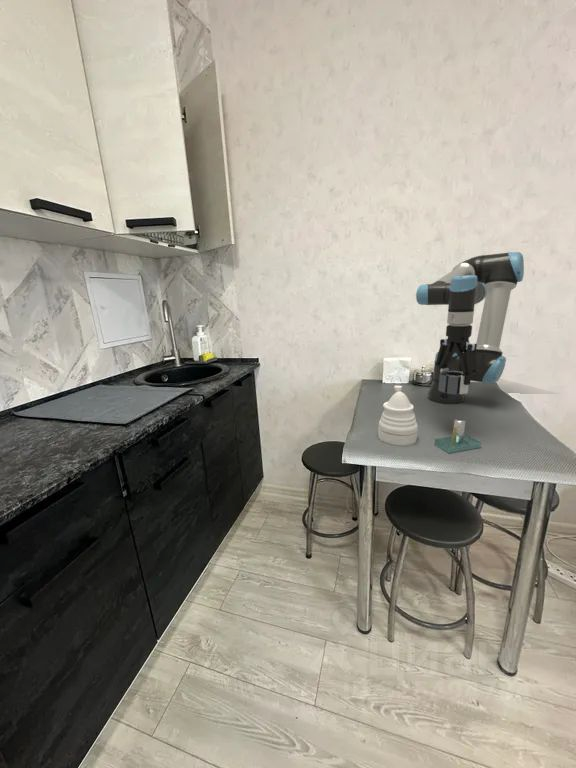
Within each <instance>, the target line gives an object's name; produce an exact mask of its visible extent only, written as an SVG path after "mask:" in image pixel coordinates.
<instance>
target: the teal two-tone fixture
mask: <svg viewBox="0 0 576 768" xmlns="http://www.w3.org/2000/svg"><path fill="white" fill-rule="evenodd" d="M452 427H453V429H452V436H446V437H445V436H444V437H439V438H434V445H435V446H436V447H438V448H439V449H441V450H442V451H444V452H446V453H447V454H452V453H458V452H463V451H470V450H474V449H480V448H481V446H482V441H480V440H478V439H477V438H474V437H473V436H470V435H468V434H466V433H465V427H466V420H465V419H463V418H455V419H454V421H453V426H452Z"/></svg>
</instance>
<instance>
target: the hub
mask: <svg viewBox="0 0 576 768" xmlns="http://www.w3.org/2000/svg"><path fill="white" fill-rule="evenodd" d="M462 374H463V372H460V371H442V372H440V375H439V386H438V390H439V391H441V392H443V393H447V394H456V395H457V394H459V392H460V383H461V375H462Z"/></svg>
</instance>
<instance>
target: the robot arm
mask: <svg viewBox="0 0 576 768" xmlns="http://www.w3.org/2000/svg"><path fill="white" fill-rule="evenodd" d="M524 265H525V261H524V255H523V254H522V253H521V252H519V251H516V252H514V251H513V252H512V251H511V252H510V251H508V252H502V253H501V252H500V253H493V254H484V255H483V254H481V255H477V256H476V255H475V256H474V257H471V258H468V259H466V260H464V261H461V262H459V263H458V264H457V265H455V266H454V267H453V268H452V270H451V271H450V272H448V273H447V274H445V275H443V276H442V277H441V278H439V279H437V280H436V281H435V282H432V283H426V284H420V285H419V286H418V287H417V289H416V294H415V299H416V302H417V304H418V305H421V306H422V305H423V306H438V305H439V306H443V305H447V306H448V307H447V308H448V310H447V317H446V318H447V319H446V320H447V321H446V323H447V325H446V328H445V331H446V332H445V336H446V338H444V339H443V338H442V339H440V340H439V341H440V343H439V349H438V351H437V352H436V353H435V357H434V358H435V359H434V367H433V378H432V383H431V386H430V389H429V391H428V393H427V399H429V400H430V401H431V402H435V403H440V404H447V405H450V404H451V405H455V404H461V403H463V402H464V399H465V396H464V395H467V394H468V393H469V386H470V385H471V382H476V383H477V382H478V383H483V384H485V383H488V384H495V383H497V382H498V381H499V380H500V378H501V376H503V375H502V374H503V372H504V369H505V366H506V362H507V358H506V357H505V356H504V355H503V353H504V352H503V351H502V350H501V348H500V347H501V341H502V336H503V331H504V327H505V326H504V325H505V321H506V317H507V311H508V307H509V302H510V298H511V297H510V296H511V293H512V291H513V290H514V289H516V288H517V284H518V283H520V282H523V279H524V274H525V266H524ZM483 300H484V301H483ZM482 301H483V302H484V303H483V307H482V313H481V317H480V321H479V322H480V323H479V327H478V333H477V337H476V343H471V342H470V339H469V338H470V337H471V336H472V330H473V326H472V325H471V324H474V314H475V305H477V304H479V303H480V302H482ZM442 371H460V372H463V374H462V375H461V383H460V392H459V394H457V395H456V394H447V393H443V392H441V391H439V390H438V386H439V375H440V372H442Z"/></svg>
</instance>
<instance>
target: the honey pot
mask: <svg viewBox="0 0 576 768" xmlns="http://www.w3.org/2000/svg"><path fill="white" fill-rule="evenodd" d="M393 389H394V391H395V393H394V394H392V396H391V397H390V399H389V400H388V401H386V402H384V403H383V405H382V407H383V408H384V410H383V411H382V414H381V417H380V419H379V421H378V428H377V429H378V431H377V435H378V436H377V437H378V438H379V439H380V441H382V442H383V443H386V444H390V445H393V446H394V445H396V446H410V445H413V444H415V443H416V442H417V441H418V440H417V439H418V429H419V428H418V427H419V426H418V423H417V420H416V414H415V412H414V408H415V407H414V405H413V404H412V403H411V402H410V400H409V398H408V396H407V395H406V393H404V392H402V389H403V386H402V385H394V387H393Z"/></svg>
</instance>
